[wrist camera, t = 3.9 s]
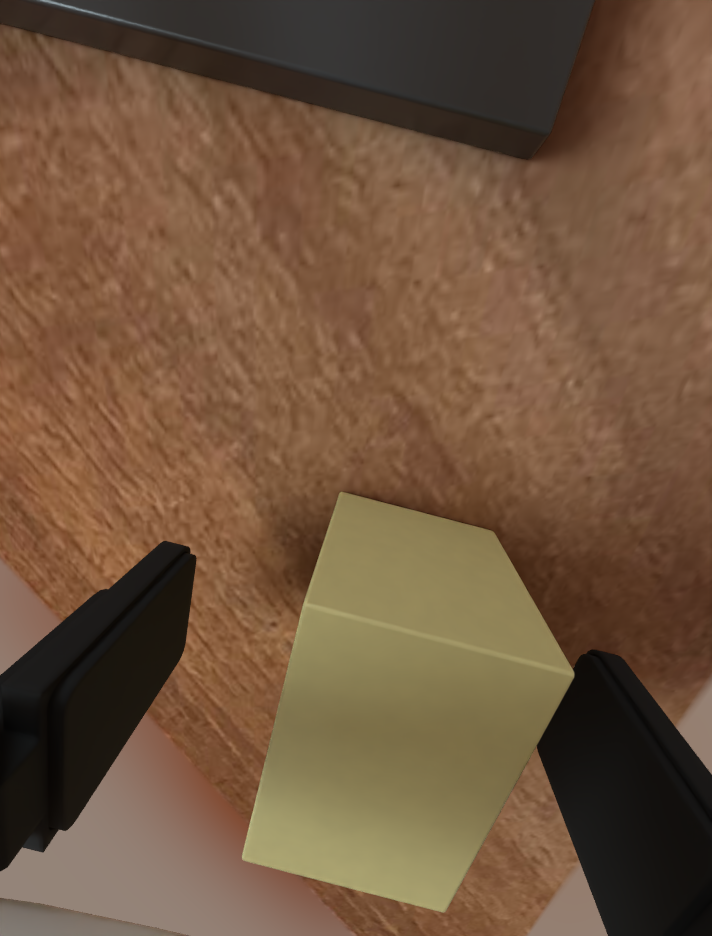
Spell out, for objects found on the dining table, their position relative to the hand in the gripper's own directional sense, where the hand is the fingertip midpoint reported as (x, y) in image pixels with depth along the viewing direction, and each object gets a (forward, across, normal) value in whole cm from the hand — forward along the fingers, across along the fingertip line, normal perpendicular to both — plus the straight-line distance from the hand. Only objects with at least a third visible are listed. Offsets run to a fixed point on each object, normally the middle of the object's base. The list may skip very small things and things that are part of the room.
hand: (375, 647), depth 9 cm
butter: (+2, 0, 0) cm, 2 cm away
